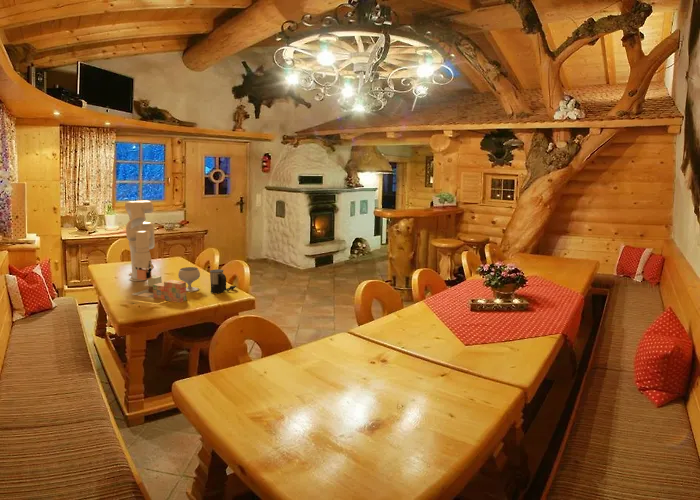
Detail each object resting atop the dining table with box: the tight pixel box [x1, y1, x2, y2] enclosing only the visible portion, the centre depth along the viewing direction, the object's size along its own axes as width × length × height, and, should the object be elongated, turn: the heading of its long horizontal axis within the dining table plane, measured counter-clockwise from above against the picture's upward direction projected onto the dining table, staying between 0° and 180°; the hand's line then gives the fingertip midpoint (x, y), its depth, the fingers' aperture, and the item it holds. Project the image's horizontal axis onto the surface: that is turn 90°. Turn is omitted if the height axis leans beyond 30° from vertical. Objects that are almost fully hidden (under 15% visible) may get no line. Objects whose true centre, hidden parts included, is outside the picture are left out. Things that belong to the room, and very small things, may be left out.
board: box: [131, 288, 155, 299], centre depth 327 cm, size 18×17×1 cm
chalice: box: [177, 266, 201, 293], centre depth 337 cm, size 14×14×15 cm
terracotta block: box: [137, 268, 153, 281], centre depth 320 cm, size 6×6×6 cm
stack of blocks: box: [153, 279, 188, 303], centre depth 315 cm, size 21×6×12 cm, turn 69°
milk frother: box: [209, 268, 237, 294], centre depth 336 cm, size 14×16×15 cm
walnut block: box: [147, 286, 153, 293], centre depth 331 cm, size 6×6×4 cm
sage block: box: [147, 275, 163, 287], centre depth 330 cm, size 6×6×6 cm
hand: (144, 277), depth 320 cm, fingers closed on terracotta block, 6 cm apart
